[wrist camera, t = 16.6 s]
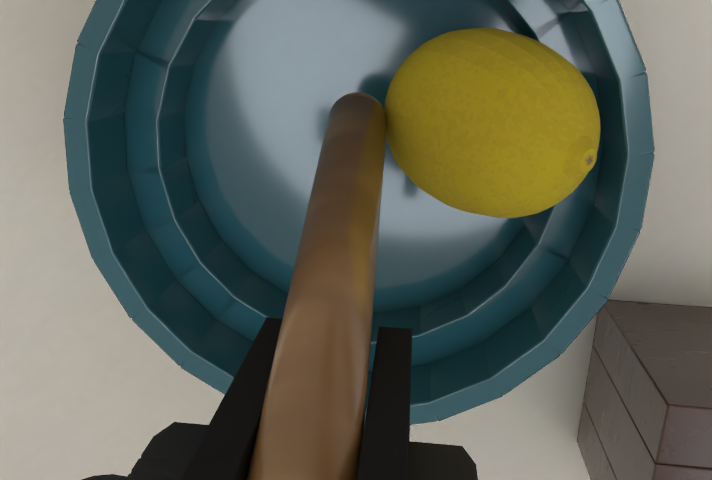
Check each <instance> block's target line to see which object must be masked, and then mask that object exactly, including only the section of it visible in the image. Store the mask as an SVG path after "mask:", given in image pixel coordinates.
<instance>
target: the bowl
mask: <svg viewBox="0 0 712 480" xmlns="http://www.w3.org/2000/svg"><path fill="white" fill-rule="evenodd" d="M481 27H485V28H495V29H500V30H505V31H509V32H513V33H517V34H520V35H524V36H527V37H529V38H532V39H534V40H537V41H539V42H541V43H542V44H544V45H546V46H548V47H549V48H551V49H553V50H554V51H556V52H557V53H558V54H560V55H561V56H562V57H564V58H565V59H566V60H568V61H569V62H570V63H572V64H573V65H574V66H575V67H576V68H577V69H578V70H579V71H580V72H581V74H582V75H583V77H584V78H585V80H586V81H587V83H588V84H589V86H590V88H591V89H592V91H593V94H594V96H595V99H596V102H597V106H598V110H599V116H600V140H599V147H598V151H597V158H596V162H595V164H594V166H593V168H592V169H591V170H590V171H589V172H588V174H587V175H586V177H585V178H584V180H583V181H582V182H581V183H580V184H579V185H578V187H577V188H576V189H575V190H574V191H573V192H572V193H571V194H569V195H568V196H567V197H566V198H565V199H563V200H562V201H560V202H559V203H558V204H556V205H554V206H552V207H550V208H548V209H546V210H544V211H542V212H539V213H537V214H532V215H528V216H522V217H517V218H497V217H491V216H485V215H479V214H474V213H469V212H465V211H462V210H459V209H456V208H453V207H451V206H448V205H446V204H444V203H442V202H441V201H439V200H437V199H436V198H434V197H432V196H431V195H429V194H427V193H426V192H424V191H423V190H422V189H420V188H419V187H418V186H416V185H415V184H414V183H413V182H412V181H411V180H410V179H409V178H408V176H407V175H406V174H405V173H404V172H403V170H402V169H401V168H400V167H399V165H398V164H397V162H396V161H395V159H394V157H393V155H392V152H391V150H390V147H389V144H388V142H387V139H386V142H385V156H384V169H383V182H382V196H381V209H380V223H379V236H378V249H377V263H376V276H375V290H374V303H373V316H372V330H371V343H370V357H369V370H368V383H367V397H366V410H365V419H366V412H367V405H368V398H369V391H370V384H371V377H372V370H373V363H374V356H375V349H376V342H377V335H378V327H379V326H382V327H395V328H408V329H413V330H412V364H411V399H410V425H412V424H419V423H427V422H434V421H437V420H439V421H441V420H443V419H446V418H448V417H451V416H453V415H456V414H458V413H461V412H464V411H466V410H469V409H471V408H474V407H476V406H479V405H481V404H484V403H487V402H489V401H492V400H494V399H497V398H499V397H502V396H503V395H505V394H506V393H508V392H509V391H511V390H512V389H513V388H515V387H516V386H518V385H519V384H520V383H522V382H523V381H525V380H526V379H528V378H529V377H530V376H532V375H533V374H535V373H536V372H537V371H539V370H540V369H542V368H543V367H545V366H546V365H547V364H549V363H550V362H552V361H553V360H554V359H556V358H557V357H559V356H560V354H562V353H563V352H564V351H565V350H566V348H567V347H568V346H569V345H570V344H571V343H572V341H573V340H574V339H575V338H576V337H577V335H578V334H579V333H580V332H581V331H582V330H583V328H584V327H585V326H586V325H587V324H588V323H589V321H590V320H591V319H592V318H593V317H594V315H595V314H596V313H597V312H598V311H599V310H600V308H601V307H602V306H603V305H604V304H605V302H606V301H607V300H608V299H607V298H609V296H610V294H611V292H612V290H613V288H614V286H615V284H616V282H617V280H618V278H619V275H620V273H621V271H622V269H623V267H624V265H625V263H626V261H627V259H628V257H629V254H630V252H631V250H632V248H633V246H634V244H635V242H636V240H637V238H638V236H639V233H640V230H641V228H642V222H643V217H644V211H645V206H646V200H647V194H648V189H649V183H650V178H651V172H652V167H653V161H654V153H653V152H654V150H655V149H654V139H653V129H652V119H651V108H650V98H649V88H648V78H647V73H646V72H645V71H646V68H645V65H644V63H643V60H642V58H641V55H640V53H639V50H638V48H637V45H636V43H635V40H634V38H633V35H632V32H631V30H630V27H629V25H628V22H627V20H626V17H625V15H624V12H623V10H622V7H621V5H620V2H619V0H96V2H95V4H94V6H93V8H92V11H91V13H90V15H89V17H88V19H87V21H86V23H85V25H84V28H83V30H82V32H81V34H80V36H79V38H78V40H77V42H78V43H77V45H76V48H75V54H74V60H73V65H72V71H71V77H70V83H69V88H68V94H67V100H66V106H65V111H64V117H65V118H64V119H63V122H64V134H65V146H66V158H67V170H68V182H69V190H70V195H71V198H72V201H73V204H74V207H75V210H76V213H77V216H78V219H79V221H80V224H81V227H82V230H83V233H84V236H85V239H86V242H87V245H88V248H89V251H90V253H91V256H92V259H94V262H95V264H96V265H97V267H98V268H99V270H100V272H101V273H102V275H103V276H104V278H105V279H106V281H107V283H108V284H109V286H110V287H111V289H112V290H113V292H114V294H115V295H116V297H117V298H118V300H119V301H120V303H121V305H122V306H123V308H124V309H125V311H126V312H127V314H128V316H129V317H130V318H132V320H133V321H134V322H135V323H136V324H137V325H138V326H139V327H140V328H141V329H142V330H143V331H144V332H145V333H146V334H147V335H148V336H149V337H150V338H151V339H152V340H153V341H154V342H155V343H156V344H157V345H158V346H159V347H160V348H161V349H162V350H163V351H164V352H165V353H166V354H168V355H169V356H170V357H171V358H172V359H173V360H174V361H175V362H176V363H177V364H178V365H179V366H181V368H182V369H184V370H185V371H187V372H189V373H190V374H192V375H194V376H195V377H197V378H199V379H200V380H202V381H203V382H205V383H207V384H208V385H210V386H212V387H213V388H215V389H217V390H218V391H220V392H222V393H223V394H226V392H227V390H228V388H229V387H230V385H231V383H232V381H233V379H234V377H235V375H236V373H237V371H238V370H239V368H240V366H241V364H242V362H243V360H244V358H245V356H246V355H247V353H248V351H249V349H250V347H251V345H252V343H253V341H254V340H255V338H256V336H257V334H258V332H259V330H260V328H261V326H262V325H263V323H264V321H265V319H266V317H267V318H280V319H283V315H284V310H285V306H286V301H287V297H288V292H289V288H290V284H291V279H292V275H293V270H294V266H295V261H296V257H297V253H298V248H299V244H300V239H301V235H302V230H303V226H304V222H305V217H306V213H307V208H308V204H309V200H310V195H311V191H312V186H313V182H314V177H315V173H316V169H317V164H318V160H319V155H320V151H321V146H322V142H323V138H324V133H325V129H326V124H327V120H328V116H329V112H330V110H331V108H332V106H333V105H334V103H335V102H336V101H337V100H338V99H340V98H341V97H342V96H344V95H346V94H349V93H354V92H360V93H365V94H369V95H371V96H372V97H374V98H375V99H376V100H378V101H379V103H380V104H381V105H382V107H383V109H384V105H385V99H386V96H387V92H388V89H389V85H390V83H391V81H392V79H393V77H394V75H395V73H396V71H397V70H398V69H399V67H400V66H401V65H402V63H403V62H404V61H405V59H406V58H407V57H408V56H409V55H410V54H411V53H412V52H414V51H415V50H416V49H417V48H418V47H420V46H421V45H422V44H424V43H425V42H427V41H429V40H431V39H433V38H435V37H437V36H439V35H441V34H444V33H447V32H450V31H455V30H462V29H469V28H481ZM364 426H365V424H364Z"/></svg>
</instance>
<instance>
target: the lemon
mask: <svg viewBox="0 0 712 480" xmlns="http://www.w3.org/2000/svg"><path fill="white" fill-rule="evenodd" d="M384 110H385V114H386V118H387V129H386V139H387V142H388V144H389V147H390V150H391V152H392V155H393V157H394V159H395V161H396V162H397V164H398V165H399V167H400V168H401V169H402V170H403V172H404V173H405V174H406V175H407V176H408V178H409V179H410V180H411V181H412V182H413V183H414V184H415V185H416V186H418V187H419V188H420V189H422V190H423V191H424V192H426V193H427V194H429V195H431V196H432V197H434V198H436V199H437V200H439V201H441V202H442V203H444V204H446V205H448V206H451V207H453V208H456V209H459V210H462V211H465V212H469V213H474V214H479V215H485V216H491V217H497V218H517V217H522V216H528V215H532V214H537V213H539V212H542V211H544V210H546V209H548V208H550V207H552V206H554V205H556V204H558V203H559V202H560V201H562V200H563V199H565V198H566V197H567V196H568V195H569V194H571V193H572V192H573V191H574V190H575V189H576V188H577V187H578V185H579V184H580V183H581V182H582V181H583V180H584V178H585V177H586V175H587V174H588V172H589V171H590V170H591V169H592V168H593V166H594V164H595V162H596V158H597V151H598V147H599V140H600V116H599V110H598V106H597V102H596V99H595V96H594V94H593V91H592V89H591V88H590V86H589V84H588V83H587V81H586V80H585V78H584V77H583V75H582V74H581V72H580V71H579V70H578V69H577V68H576V67H575V66H574V65H573V64H572V63H570V62H569V61H568V60H566V59H565V58H564V57H562V56H561V55H560V54H558V53H557V52H556V51H554V50H553V49H551V48H549V47H548V46H546V45H544V44H542V43H541V42H539V41H537V40H534V39H532V38H529V37H527V36H524V35H520V34H517V33H513V32H509V31H505V30H500V29H495V28H485V27H481V28H469V29H462V30H455V31H450V32H447V33H444V34H441V35H439V36H437V37H435V38H433V39H431V40H429V41H427V42H425V43H424V44H422V45H421V46H420V47H418V48H417V49H416V50H415V51H414V52H412V53H411V54H410V55H409V56H408V57H407V58H406V59H405V61H404V62H403V63H402V65H401V66H400V67H399V69H398V70H397V71H396V73H395V75H394V77H393V79H392V81H391V83H390V85H389V89H388V92H387V96H386V99H385V105H384Z"/></svg>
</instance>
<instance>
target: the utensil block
mask: <svg viewBox="0 0 712 480" xmlns="http://www.w3.org/2000/svg"><path fill="white" fill-rule="evenodd" d="M577 443H578V446H579V448H580V451H581V454H582V457H583V459H584V462H585V465H586V468H587V470H588V473H589V476H590V479H591V480H712V308H706V307H693V306H680V305H667V304H654V303H641V302H628V301H615V300H607V301H606V302H605V304H604V305H603V306H602V307H601V308H600V310H599V311H598V317H597V323H596V329H595V335H594V341H593V347H592V353H591V359H590V365H589V371H588V377H587V383H586V390H585V396H584V403H583V408H582V414H581V420H580V426H579V432H578V438H577Z"/></svg>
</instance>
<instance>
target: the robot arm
mask: <svg viewBox="0 0 712 480" xmlns="http://www.w3.org/2000/svg"><path fill="white" fill-rule="evenodd" d="M281 323H282V319H280V318H267V317H266V319H265V321H264V323H263V325H262V326H261V328H260V330H259V332H258V334H257V336H256V338H255V340H254V341H253V343H252V345H251V347H250V349H249V351H248V353H247V355H246V356H245V358H244V360H243V362H242V364H241V366H240V368H239V370H238V371H237V373H236V375H235V377H234V379H233V381H232V383H231V385H230V387H229V388H228V390H227V392H226V394H225V396H224V398H223V400H222V402H221V403H220V405H219V407H218V409H217V411H216V413H215V415H214V417H213V418H212V420H211V422H210V424H209V425H200V424H189V423H178V422H174V423H172V424H171V425H170V426H168V427H167V428H165V429H164V430H162V431H161V432H160V433H158V434H157V435H155V436H154V437H153V438H152V440H151V441H150V443H149V444H148V446H147V447H146V449H145V450H144V452H143V453H142V455H141V459H139V460H138V461H137V463H136V464H135V466H134V467H133V469H132V472H131V474H129V475H128V476H127V477H125V476H119V475H114V474H111V475H99V476H92V477H89V478H85V479H82V480H246V478H247V474H248V469H249V465H250V461H251V456H252V452H253V447H254V443H255V439H256V435H257V430H258V426H259V422H260V417H261V413H262V409H263V403H264V399H265V394H266V390H267V385H268V381H269V376H270V372H271V368H272V363H273V359H274V354H275V350H276V346H277V341H278V337H279V332H280V328H281ZM412 330H413V329H408V328H395V327H382V326H379V327H378V335H377V342H376V349H375V356H374V363H373V370H372V377H371V384H370V391H369V398H368V405H367V412H366V419H365V426H364V433H363V440H362V447H361V454H360V461H359V468H358V475H357V480H478V478H477V470H476V464H475V463H474V461H473V460H472V459H471V457H470V456H469V455H468V453H467V452H466V451H465V449H464V448H463V447H462V446H454V445H443V444H432V443H421V442H410V441H409V434H410V399H411V364H412Z"/></svg>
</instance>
